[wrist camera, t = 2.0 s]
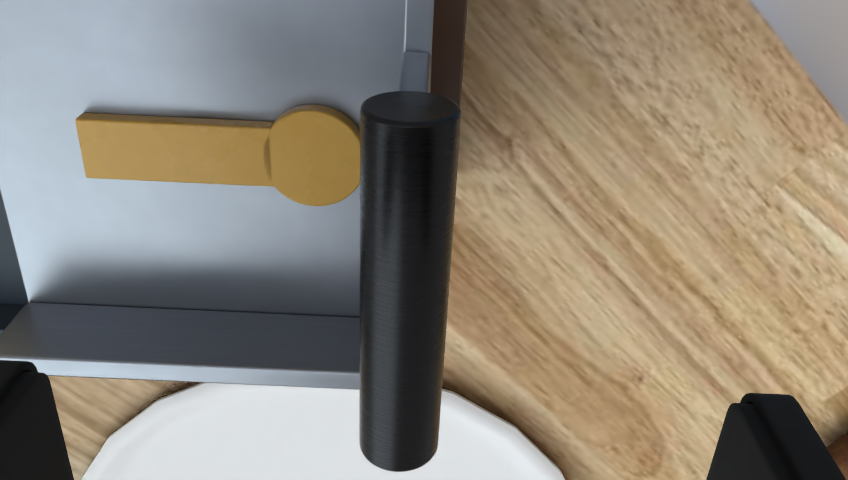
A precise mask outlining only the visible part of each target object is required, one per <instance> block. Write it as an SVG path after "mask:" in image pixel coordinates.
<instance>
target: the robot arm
mask: <svg viewBox="0 0 848 480" xmlns="http://www.w3.org/2000/svg"><path fill="white" fill-rule="evenodd" d="M0 480H74V478H73V474H72V470H71V466H70V462H69V458H68V454H67V450H66V445H65V441H64V437H63V433H62V429H61V425H60V421H59V417H58V413H57V409H56V405H55V400H54V396H53V392H52V388H51V384H50V380H49V378H48V376H47V375H46V374H45V373H40V372H38V371H37V368H36V366H35V365H34V364H33V363H32V362H29V361H11V360H0ZM707 480H846V478H845V477H844V475H843V474H842V472H841V470H840V469H839V467H838V466H837V464H836V462H835V461H834V459H833V458H832V456H831V454H830V453H829V451H828V450H827V448H826V446H825V445H824V443H823V442H822V440H821V438H820V437H819V435H818V434H817V432H816V430H815V429H814V427H813V426H812V424H811V422H810V421H809V419H808V418H807V416H806V414H805V413H804V411H803V410H802V408H801V406H800V405H799V403H798V402H797V401H796V399H795V398H794V397H792V396H790V395H782V394H759V393H748V394H746V395H745V396H744V397H743V398H742V400H741V402H740V403H733V404H731V405H730V406H729V408H728V411H727V414H726V417H725V420H724V424H723V427H722V430H721V434H720V437H719V440H718V443H717V447H716V450H715V453H714V457H713V460H712V463H711V466H710V470H709V473H708V476H707Z"/></svg>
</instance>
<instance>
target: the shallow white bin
mask: <svg viewBox="0 0 848 480" xmlns="http://www.w3.org/2000/svg"><path fill="white" fill-rule="evenodd" d="M433 16H434V0H0V193H1V196H2V200H3V204H4V208H5V212H6V216H7V220H8V224H9V228H10V232H11V236H12V240H13V244H14V248H15V252H16V256H17V260H18V264H19V267H20V271H21V275H22V279H23V283H24V287H25V291H26V295H27V299H28V303H26V305H25V306H24V307H23V308H22V309H21V311H20V312H19V313H18V314H17V315H16V316H15V318H14V319H13V320H12V321H11V322H10V324H9V325H8V326H7V327H6V328H5V329H4V331H3V332H2V333H1V334H0V360H11V361H29V362H32V363H33V364H34V365H35V366H36V368H37V371H38V372H40V373H45V374H46V375H47V376H69V377H91V378H113V379H135V380H156V381H178V382H200V383H222V384H244V385H266V386H288V387H310V388H331V389H353V390H360V396H359V444H360V448H361V451H362V453H363V455H364V456H365V457H366V459H367V460H368V461H369V462H370V463H372V464H373V465H375V466H377V467H379V468H381V469H384V470H387V471H393V472H405V471H411V470H415V469H418V468H420V467H422V466H424V465H425V464H426V463H428V462H429V461H430V460H431V459H432V457H433V456H434V455H435V453H436V451H437V448H438V438H439V424H440V410H441V395H442V381H443V367H444V353H445V338H446V324H447V310H448V295H449V281H450V267H451V253H452V238H453V224H454V210H455V195H456V181H457V167H458V153H459V138H460V124H461V110H460V107H459V106H458V104H457V103H455V102H454V101H452V100H451V99H448V98H446V97H443V96H440V95H436V94H432V93H430V86H431V58H432V37H433ZM310 104H315V105H323V106H327V107H330V108H333V109H335V110H337V111H339V112H341V113H343V114H344V115H346V116H347V117H348V118H349V119H350V120H352V121H353V123H354V124H355V125H356V126H357V127H358V129H359V130H360V184H359V186H358V187H357V188H356V190H355V191H354V192H353V193H352V194H351V195H349V196H348V197H347V198H345V199H343V200H342V201H340V202H337V203H335V204H331V205H327V206H308V205H303V204H300V203H297V202H295V201H293V200H290V199H289V198H287V197H286V196H284V195H283V194H281V193H280V192H279V191H278V190H277V189H276V188H275V187H274V186H273V187H268V186H247V185H226V184H204V183H183V182H162V181H140V180H119V179H98V178H86V175H85V170H84V164H83V159H82V154H81V149H80V143H79V138H78V133H77V128H76V123H75V119H76V118H77V117H78V116H79V115H81V114H82V113H98V114H119V115H141V116H162V117H183V118H204V119H225V120H246V121H267V122H274V121H275V120H276V119H277V118H278V117H279V116H280V115H281V114H283V113H284V112H286V111H287V110H289V109H292V108H294V107H297V106H301V105H310Z"/></svg>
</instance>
